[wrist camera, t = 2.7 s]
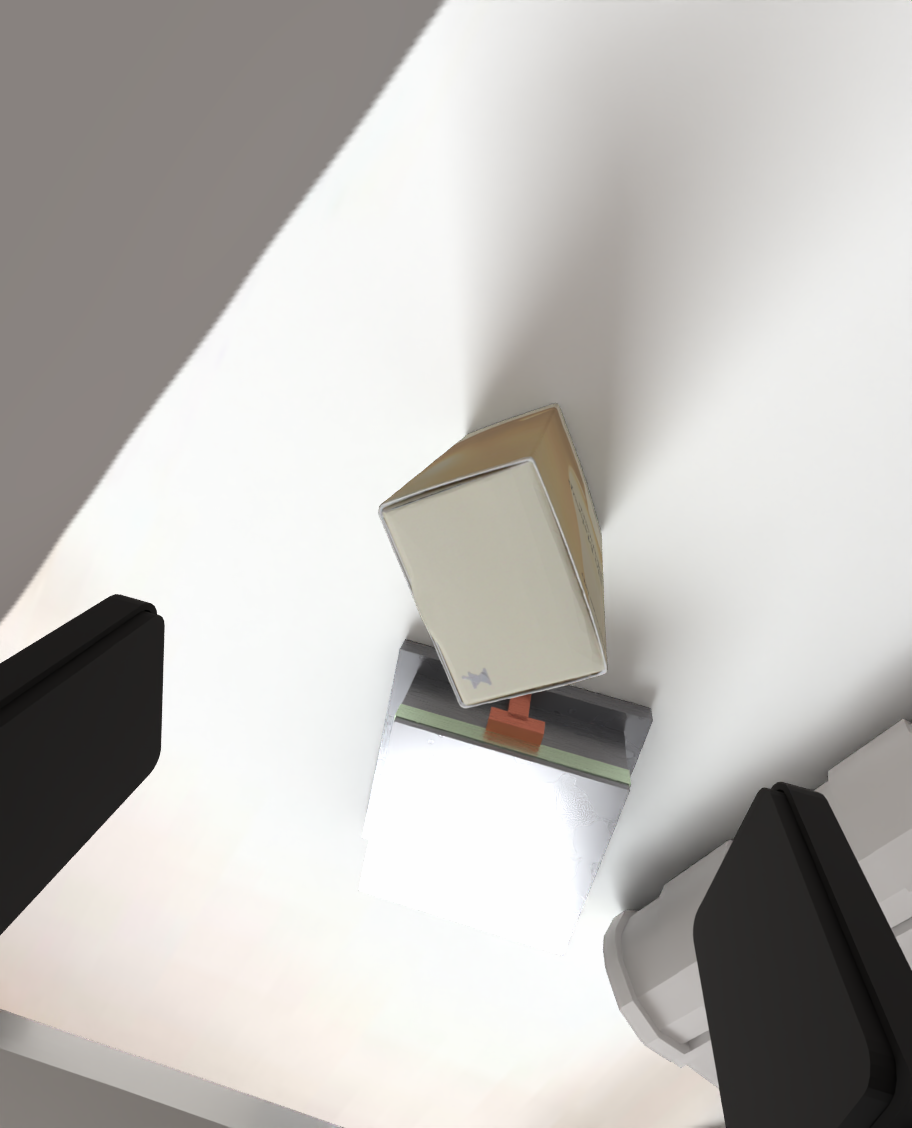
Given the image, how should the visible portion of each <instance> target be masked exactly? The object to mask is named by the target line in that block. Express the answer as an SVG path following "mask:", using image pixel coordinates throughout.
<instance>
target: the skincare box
mask: <svg viewBox="0 0 912 1128" xmlns="http://www.w3.org/2000/svg"><path fill="white" fill-rule="evenodd" d="M378 513H379V517H380V519H381V521H382V524H383V526H384V528H385V531H386V533H387V536H388V538H389V541H390V543H391V546H392V548H393V550H394V553H395V555H396V557H397V560H398V562H399V564H400V567H401V569H402V572H403V574H404V576H405V579H406V581H407V583H408V586H409V589H410V591H411V594H412V596H413V599H414V601H415V604H416V606H417V609H418V611H419V614H420V616H421V618H422V620H423V622H424V624H425V626H426V628H427V631H428V633H429V635H430V637H431V639H432V641H433V644H434V646H435V649H436V651H437V654H438V656H439V659H440V661H441V663H442V665H443V667H444V670H445V672H446V675H447V677H448V679H449V682H450V684H451V686H452V688H453V691H454V693H455V695H456V698H457V701H458V703H459V705H460V706H461V707H462V708H469V707H474V706H478V705H482V704H486V703H492V702H497V701H500V700H505V699H510V698H515V697H519V696H523V695H527V694H532V693H535V692H541V691H545V690H549V689H553V688H557V687H561V686H565V685H569V684H572V683H576V682H579V681H582V680H585V679H589V678H593V677H597V676H600V675H603V674H606V672H607V670H608V665H607V654H606V634H605V611H604V585H603V565H602V534H601V530H600V527H599V523H598V519H597V516H596V512H595V509H594V505H593V502H592V499H591V495H590V492H589V489H588V486H587V483H586V480H585V477H584V473H583V470H582V467H581V464H580V461H579V458H578V456H577V453H576V450H575V448H574V445H573V442H572V439H571V437H570V434H569V431H568V428H567V426H566V423H565V420H564V418H563V415H562V412H561V409H560V407H559V405H558V404H557V403H555V404H551V405H548V406H545V407H542V408H539V409H536V410H533V411H530V412H527V413H524V414H522V415H519V416H516V417H513V418H510V419H507V420H504V421H501V422H498V423H496V424H493V425H490V426H488V427H485V428H483V429H480V430H477V431H474V432H472V433H469V434H467V435H466V436H465V437H464V438H462V439H461V440H460V441H459V442H457V443H456V444H455V445H454V446H452V447H451V448H450V449H449V450H448V451H447V452H445V453H444V454H443V455H442V456H440V457H439V458H438V459H436V460H435V461H434V462H433V463H431V464H430V465H429V466H428V467H427V468H425V469H424V470H423V471H422V472H421V473H419V474H418V475H417V476H416V477H414V478H413V479H412V480H411V481H409V482H408V483H407V484H406V485H404V486H403V487H402V488H401V489H400V490H398V491H397V492H396V493H395V494H393V495H392V496H391V497H390V498H388V499H387V500H386V501H384V502H383V503H382V504H381V505H380V506H379V512H378Z"/></svg>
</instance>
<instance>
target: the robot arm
mask: <svg viewBox="0 0 912 1128" xmlns="http://www.w3.org/2000/svg"><path fill="white" fill-rule="evenodd" d="M163 660H164V620H163V617H161V616H160V615H157V611H156V608H155V606H154V605H152V604H151V603H148V602H144V601H141V600H137V599H134V598H130V597H127V596H123V595H118V594H115V595H112V596H110V597H108V598H106V599H105V600H103V601H101V602H100V603H98V604H97V605H95V606H93V607H92V608H90V609H88V610H87V611H85V612H84V613H82V614H80V615H79V616H77V617H75V618H74V619H72V620H70V621H69V622H67V623H66V624H64V625H62V626H61V627H59V628H57V629H56V630H54V631H53V632H51V633H49V634H48V635H46V636H44V637H43V638H41V639H39V640H38V641H36V642H35V643H33V644H31V645H30V646H28V647H26V648H25V649H23V650H21V651H20V652H18V653H17V654H15V655H13V656H12V657H10V658H8V659H7V660H5V661H4V662H2V663H0V935H1V934H2V933H3V932H4V931H5V930H6V929H7V927H8V926H9V925H10V924H11V923H12V922H13V921H14V920H15V919H16V918H17V917H18V916H19V915H20V913H21V912H22V911H23V910H24V909H25V908H26V907H27V906H28V905H29V904H30V903H31V902H32V900H33V899H34V898H35V897H36V896H37V895H38V894H39V893H40V892H41V891H42V890H43V889H44V888H45V886H46V885H47V884H48V883H49V882H50V881H51V880H52V879H53V878H54V877H55V876H56V875H57V873H58V872H59V871H60V870H61V869H62V868H63V867H64V866H65V865H66V864H67V863H68V862H69V861H70V859H71V858H72V857H73V856H74V855H75V854H76V853H77V852H78V851H79V850H80V849H81V848H82V847H83V845H84V844H85V843H86V842H87V841H88V840H89V839H90V838H91V837H92V836H93V835H94V834H95V832H96V831H97V830H98V829H99V828H100V827H101V826H102V825H103V824H104V823H105V822H106V821H107V820H108V818H109V817H110V816H111V815H112V814H113V813H114V812H115V811H116V810H117V809H118V808H119V807H120V805H121V804H122V803H123V802H124V801H125V800H126V799H127V798H128V797H129V796H130V795H131V794H132V793H133V791H134V790H135V789H136V788H137V787H138V786H139V785H140V784H141V783H142V782H143V781H144V780H145V779H146V777H147V776H148V775H149V774H150V773H151V772H152V770H153V769H154V767H155V765H156V764H157V761H158V759H159V756H160V751H161V729H162V694H163ZM693 942H694V947H695V953H696V959H697V964H698V970H699V976H700V982H701V987H702V993H703V999H704V1004H705V1010H706V1016H707V1022H708V1027H709V1033H710V1039H711V1044H712V1050H713V1056H714V1062H715V1067H716V1073H717V1079H718V1084H719V1090H720V1096H721V1102H722V1107H723V1113H724V1119H725V1125H726V1128H912V970H911V968H910V966H909V964H908V962H907V960H906V958H905V956H904V954H903V952H902V950H901V948H900V946H899V944H898V942H897V940H896V937H895V935H894V933H893V931H892V929H891V927H890V925H889V923H888V921H887V919H886V917H885V915H884V913H883V911H882V909H881V907H880V905H879V903H878V901H877V899H876V897H875V895H874V893H873V891H872V889H871V887H870V885H869V883H868V881H867V879H866V877H865V875H864V873H863V871H862V869H861V867H860V865H859V863H858V861H857V859H856V857H855V855H854V853H853V851H852V849H851V847H850V845H849V843H848V841H847V839H846V837H845V835H844V833H843V831H842V829H841V827H840V825H839V823H838V821H837V819H836V817H835V815H834V813H833V811H832V809H831V807H830V804H829V802H828V800H827V799H826V798H825V796H824V795H823V794H821V793H819V792H816V791H813V790H809V789H806V788H802V787H798V786H795V785H791V784H788V783H784V782H777V783H776V784H775V785H773V787H772V788H771V789H768V788H762V789H761V790H759V792H758V793H757V795H756V797H755V799H754V800H753V802H752V804H751V806H750V808H749V810H748V812H747V814H746V816H745V818H744V820H743V822H742V824H741V826H740V828H739V830H738V832H737V834H736V836H735V838H734V840H733V842H732V844H731V846H730V848H729V850H728V851H727V853H726V855H725V857H724V859H723V861H722V863H721V865H720V867H719V869H718V871H717V873H716V875H715V877H714V879H713V881H712V883H711V885H710V887H709V889H708V891H707V893H706V895H705V897H704V899H703V901H702V902H701V904H700V906H699V908H698V910H697V913H696V915H695V919H694V924H693ZM0 1128H344V1127H341V1126H338V1125H335V1124H332V1123H329V1122H326V1121H324V1120H321V1119H318V1118H315V1117H312V1116H309V1115H306V1114H304V1113H301V1112H298V1111H295V1110H292V1109H289V1108H286V1107H283V1106H281V1105H278V1104H275V1103H272V1102H269V1101H266V1100H263V1099H260V1098H258V1097H255V1096H252V1095H249V1094H246V1093H243V1092H240V1091H237V1090H235V1089H232V1088H229V1087H226V1086H223V1085H220V1084H217V1083H214V1082H212V1081H209V1080H206V1079H203V1078H200V1077H197V1076H194V1075H191V1074H189V1073H186V1072H183V1071H180V1070H177V1069H174V1068H171V1067H168V1066H166V1065H163V1064H160V1063H157V1062H154V1061H151V1060H148V1059H145V1058H142V1057H139V1056H136V1055H133V1054H131V1053H128V1052H125V1051H122V1050H119V1049H116V1048H113V1047H110V1046H107V1045H104V1044H101V1043H98V1042H95V1041H93V1040H90V1039H87V1038H84V1037H81V1036H78V1035H75V1034H72V1033H69V1032H66V1031H63V1030H60V1029H57V1028H55V1027H52V1026H49V1025H46V1024H43V1023H40V1022H37V1021H34V1020H31V1019H28V1018H25V1017H22V1016H19V1015H17V1014H14V1013H11V1012H8V1011H5V1010H2V1009H0Z"/></svg>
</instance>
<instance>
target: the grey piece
mask: <svg viewBox="0 0 912 1128" xmlns="http://www.w3.org/2000/svg"><path fill="white" fill-rule="evenodd" d="M652 721H653V719H652V713H651V708H647V707H644V706H640V705H637V704H633V703H630V702H626V701H623V700H619V699H615V698H612V697H608V696H605V695H601V694H598V693H594V692H591V691H587V690H583V689H580V688H576V687H573V686H569V685H565V686H561V687H557V688H553V689H549V690H545V691H541V692H535V693H532V694H527V695H523V696H519V697H515V698H510V699H505V700H500V701H497V702H492V703H486V704H482V705H478V706H474V707H469V708H462V707H461V706H460V705H459V703H458V701H457V698H456V695H455V693H454V691H453V688H452V686H451V684H450V682H449V679H448V677H447V675H446V672H445V670H444V667H443V665H442V663H441V661H440V659H439V656H438V654H437V651H436V649H435V648H434V647H431V646H427V645H423V644H420V643H416V642H413V641H409V640H406V639H405V641H404V643H403V645H402V646H401V648H400V651H399V656H398V661H397V666H396V671H395V676H394V681H393V686H392V691H391V696H390V701H389V706H388V711H387V716H386V721H385V726H384V731H383V736H382V741H381V746H380V751H379V756H378V761H377V766H376V771H375V775H374V780H373V785H372V790H371V795H370V800H369V805H368V810H367V815H366V820H365V825H364V830H363V835H362V838H365V839H369V843H368V847H367V852H366V857H365V862H364V867H363V871H362V876H361V881H360V886H359V890H360V891H363V892H366V893H369V894H372V895H375V896H378V897H381V898H385V899H388V900H391V901H394V902H397V903H400V904H403V905H406V906H410V907H413V908H416V909H419V910H422V911H425V912H428V913H431V914H434V915H438V916H441V917H444V918H447V919H450V920H453V921H456V922H459V923H463V924H466V925H469V926H472V927H475V928H478V929H481V930H484V931H488V932H491V933H494V934H497V935H500V936H503V937H506V938H509V939H512V940H516V941H519V942H522V943H525V944H528V945H531V946H534V947H537V948H541V949H544V950H547V951H550V952H553V953H556V954H559V955H562V956H563V955H564V953H565V950H566V948H567V946H568V943H569V941H570V938H571V936H572V933H573V931H574V928H575V926H576V923H577V921H578V918H579V916H580V913H581V911H582V908H583V906H584V903H585V901H586V898H587V896H588V893H589V891H590V888H591V886H592V883H593V881H594V878H595V876H596V873H597V871H598V869H599V866H600V864H601V861H602V859H603V856H604V854H605V851H606V849H607V846H608V844H609V841H610V839H611V836H612V834H613V831H614V829H615V826H616V824H617V821H618V819H619V816H620V814H621V811H622V809H623V806H624V804H625V801H626V799H627V796H628V794H629V791H630V785H631V781H630V777H631V774H632V772H633V769H634V767H635V764H636V761H637V759H638V756H639V754H640V751H641V749H642V746H643V744H644V741H645V739H646V736H647V734H648V731H649V729H650V726H651V724H652Z"/></svg>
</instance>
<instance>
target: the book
mask: <svg viewBox="0 0 912 1128" xmlns="http://www.w3.org/2000/svg"><path fill="white" fill-rule="evenodd" d="M814 791H816V792H819V793H821V794H823V795H824V796H825V798H826V799H827V800H828V802H829V804H830V807H831V809H832V811H833V813H834V815H835V817H836V819H837V821H838V823H839V825H840V827H841V829H842V831H843V833H844V835H845V837H846V839H847V841H848V843H849V845H850V847H851V849H852V851H853V853H854V855H855V857H856V859H857V861H858V863H859V865H860V867H861V869H862V871H863V873H864V875H865V877H866V879H867V881H868V883H869V885H870V887H871V889H872V891H873V893H874V895H875V897H876V899H877V901H878V903H879V905H880V907H881V909H882V911H883V913H884V915H885V917H886V919H887V921H888V923H889V925H890V927H891V929H892V931H893V933H894V935H895V937H896V940H897V942H898V944H899V946H900V948H901V950H902V952H903V954H904V956H905V958H906V960H907V962H908V964H909V966H910V968H911V970H912V723H911V722H909V721H907V720H905V719H902V720H900V721H899V722H898V723H896V724H895V725H893V726H892V727H890V728H889V729H887V730H886V731H885V732H883V733H882V734H880V735H879V736H877V737H876V738H875V739H873V740H872V741H870V742H869V743H867V744H866V745H864V746H863V747H862V748H860V749H859V750H857V751H856V752H854V753H853V754H852V755H850V756H849V757H847V758H846V759H844V760H843V761H841V762H840V763H839V764H837V765H836V766H834V767H833V768H831V769H830V770H829V771H828V781H827V782H825V783H824V784H822V785H821V786H820V787H818V788H817V789H815V790H814ZM732 842H733V840H728V841H727V842H725V843H724V844H722V845H721V846H719V847H718V848H717V849H715V850H714V851H712V852H711V853H709V854H708V855H706V856H705V857H704V858H702V859H701V860H699V861H698V862H696V863H695V864H694V865H692V866H691V867H689V868H688V869H686V870H685V871H683V872H682V873H681V874H679V875H678V876H676V877H675V878H673V879H672V880H671V881H669V882H668V883H666V884H665V885H664V887H663V889H662V892H661V894H660V896H659V898H657V899H656V900H654V901H653V902H651V903H650V904H648V905H647V906H645V907H644V908H643V909H641V910H640V911H634V910H625V911H623V912H622V913H620V914H619V915H617V916H616V917H615V918H614V919H613V920H612V922H611V924H610V926H609V928H608V930H607V931H606V933H605V935H604V942H603V953H604V961H605V968H606V972H607V975H608V978H609V981H610V984H611V987H612V990H613V993H614V996H615V999H616V1002H617V1005H618V1008H619V1010H620V1011H621V1013H622V1014H623V1016H624V1017H625V1019H626V1020H627V1022H628V1023H629V1025H630V1026H631V1028H632V1029H633V1031H634V1032H635V1034H636V1035H637V1037H638V1038H639V1040H640V1041H641V1042H643V1044H644V1045H645V1046H646V1047H648V1048H649V1049H651V1050H652V1051H654V1052H656V1053H657V1054H659V1055H660V1056H662V1057H663V1058H665V1059H666V1060H668V1061H670V1062H671V1061H672V1062H673V1063H674V1064H676V1065H677V1066H678V1067H680V1068H682V1067H684V1066H685V1065H687V1066H688V1067H690V1068H691V1069H693V1070H694V1071H695V1072H697V1073H698V1074H699V1075H701V1076H702V1077H704V1078H705V1079H706V1080H708V1081H709V1082H710V1083H712V1084H713V1085H714V1086H716V1087H717V1088H719V1084H718V1079H717V1073H716V1067H715V1062H714V1056H713V1050H712V1044H711V1039H710V1033H709V1027H708V1022H707V1016H706V1010H705V1004H704V999H703V993H702V987H701V982H700V976H699V970H698V964H697V959H696V953H695V947H694V942H693V924H694V919H695V915H696V913H697V910H698V908H699V906H700V904H701V902H702V901H703V899H704V897H705V895H706V893H707V891H708V889H709V887H710V885H711V883H712V881H713V879H714V877H715V875H716V873H717V871H718V869H719V867H720V865H721V863H722V861H723V859H724V857H725V855H726V853H727V851H728V850H729V848H730V846H731V844H732Z"/></svg>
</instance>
